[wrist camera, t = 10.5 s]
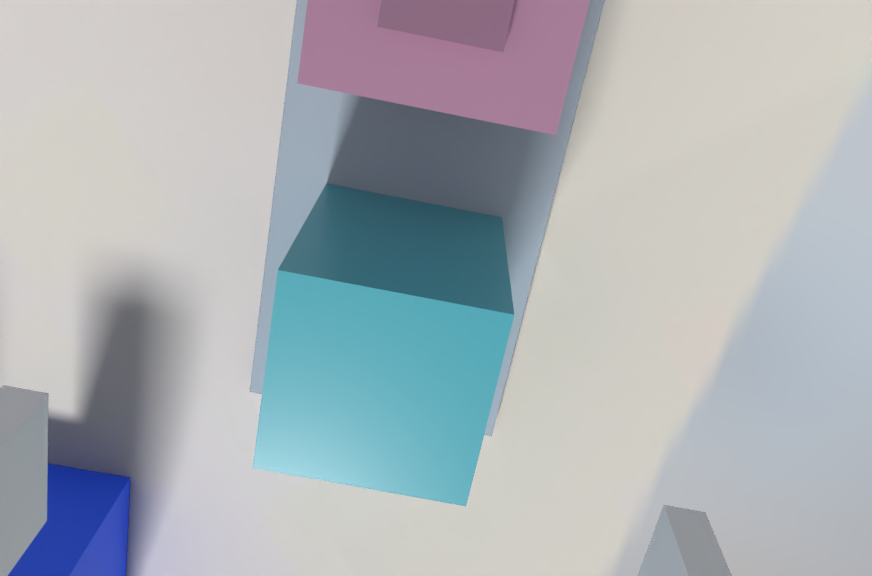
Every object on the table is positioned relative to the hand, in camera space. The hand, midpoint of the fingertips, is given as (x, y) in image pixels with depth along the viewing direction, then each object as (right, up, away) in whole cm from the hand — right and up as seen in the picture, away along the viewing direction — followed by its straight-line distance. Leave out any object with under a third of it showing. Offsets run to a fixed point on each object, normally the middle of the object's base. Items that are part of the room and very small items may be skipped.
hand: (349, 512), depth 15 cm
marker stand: (+1, +8, +9) cm, 12 cm away
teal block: (0, +4, +10) cm, 11 cm away
